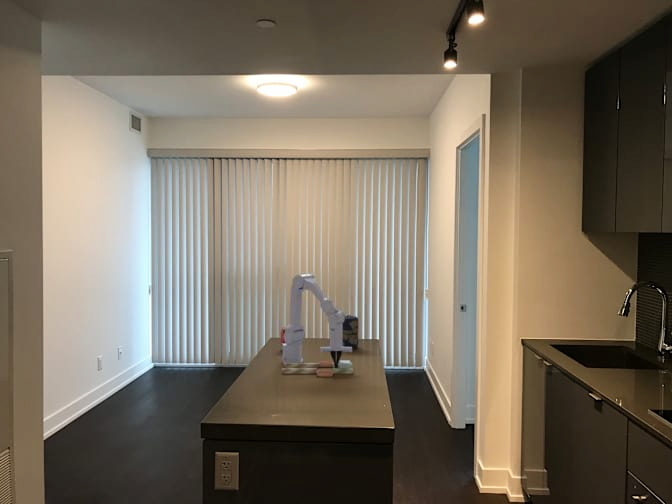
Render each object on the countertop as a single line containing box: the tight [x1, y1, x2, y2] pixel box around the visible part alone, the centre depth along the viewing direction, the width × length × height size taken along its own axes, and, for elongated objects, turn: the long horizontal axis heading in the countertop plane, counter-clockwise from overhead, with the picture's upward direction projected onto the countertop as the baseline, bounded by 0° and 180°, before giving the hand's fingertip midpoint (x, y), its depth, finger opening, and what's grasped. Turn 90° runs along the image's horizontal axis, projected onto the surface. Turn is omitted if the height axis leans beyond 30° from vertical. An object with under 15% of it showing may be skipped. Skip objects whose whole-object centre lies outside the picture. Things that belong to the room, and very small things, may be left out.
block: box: [339, 359, 351, 368], centre depth 227 cm, size 5×5×4 cm
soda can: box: [279, 326, 287, 351], centre depth 267 cm, size 7×7×12 cm
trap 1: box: [317, 361, 334, 368], centre depth 235 cm, size 7×4×2 cm, turn 90°
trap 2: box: [316, 369, 334, 378], centre depth 219 cm, size 7×4×2 cm, turn 90°
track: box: [281, 362, 354, 375], centre depth 227 cm, size 32×10×2 cm, turn 90°
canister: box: [342, 314, 359, 349], centre depth 272 cm, size 10×10×18 cm
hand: (336, 367), depth 227 cm, fingers closed
